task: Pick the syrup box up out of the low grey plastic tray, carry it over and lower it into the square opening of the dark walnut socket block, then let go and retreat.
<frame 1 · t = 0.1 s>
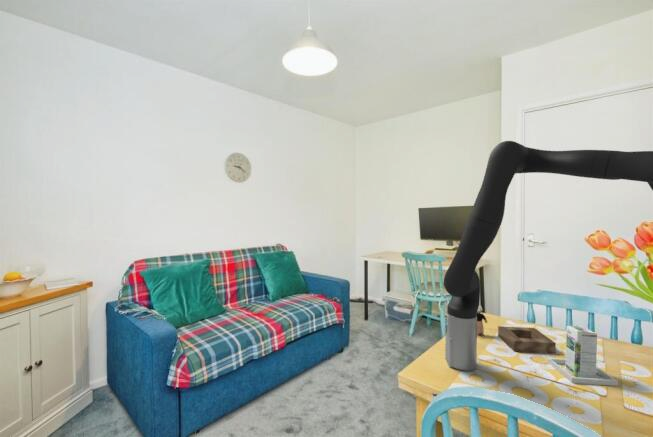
syrup box: (580, 373, 96), resting in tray
grandmother figurine: (477, 335, 126), on the table
socket block: (524, 344, 117), on the table
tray: (580, 373, 96), on the table
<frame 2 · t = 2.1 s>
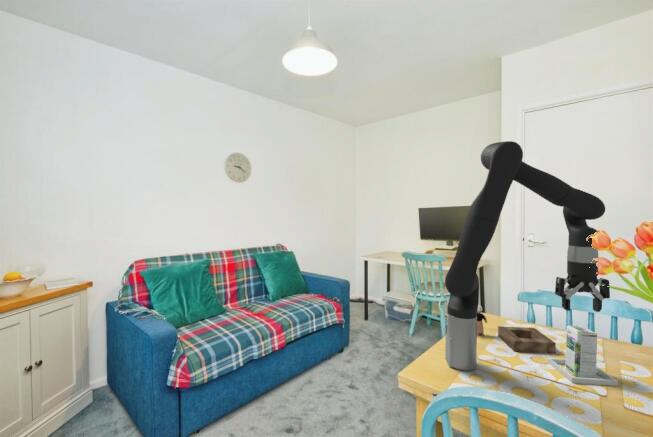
hand: (581, 310, 95), 20 cm above the table, tool pointing down, fingers open, 8 cm apart
nothing on the table moved.
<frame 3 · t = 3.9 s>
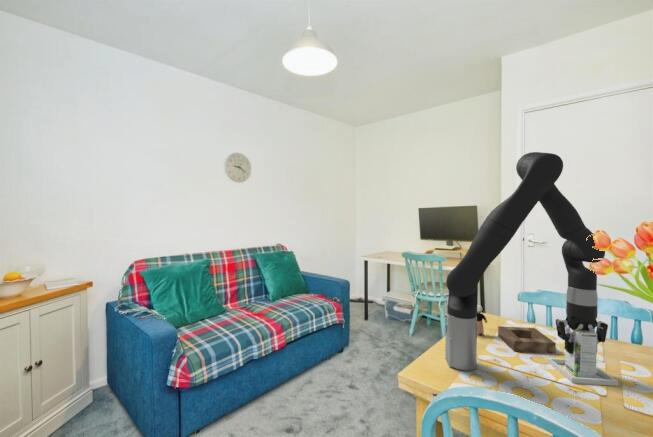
hand: (580, 353, 96), 7 cm above the table, tool pointing down, fingers closed on syrup box, 6 cm apart
syrup box: (580, 373, 96), resting in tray, touching gripper
everything else where it was.
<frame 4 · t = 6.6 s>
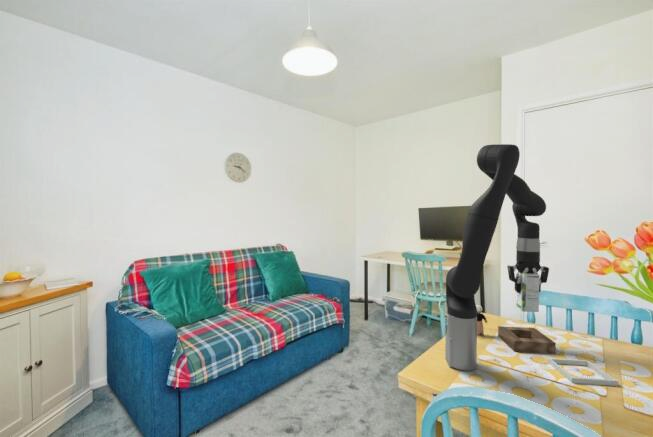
hand: (527, 292, 115), 21 cm above the table, tool pointing down, fingers closed on syrup box, 6 cm apart
syrup box: (527, 310, 116), point 14 cm above the table, touching gripper
everything else where it was.
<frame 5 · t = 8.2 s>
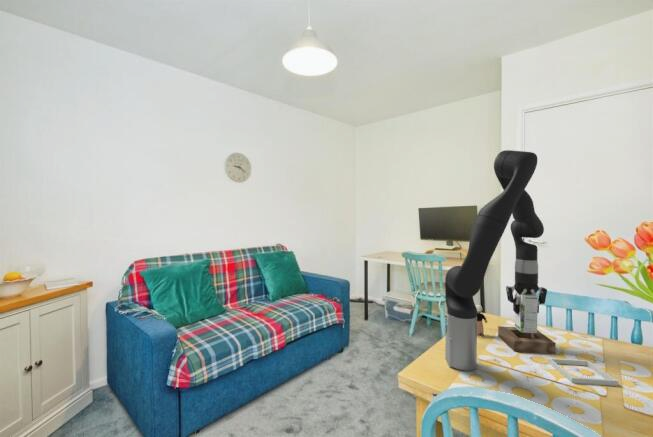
hand: (525, 313, 116), 12 cm above the table, tool pointing down, fingers closed on syrup box, 6 cm apart
syrup box: (525, 330, 116), point 5 cm above the table, touching gripper
everything else where it was.
when the fingers open (8 cm above the table, at t = 9.6 s): syrup box drops 1 cm, resting in socket block.
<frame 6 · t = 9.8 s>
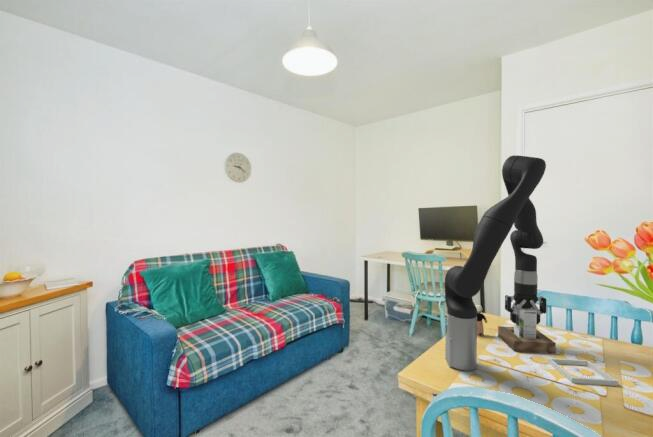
hand: (525, 322, 117), 8 cm above the table, tool pointing down, fingers open, 7 cm apart
syrup box: (524, 344, 117), resting in socket block
everything else where it was.
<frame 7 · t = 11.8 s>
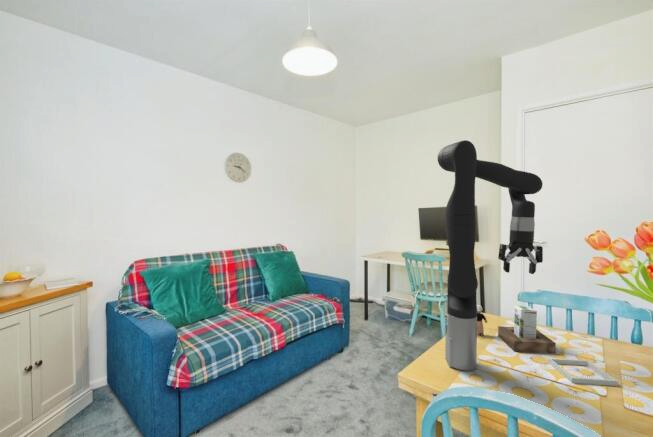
hand: (519, 272, 111), 29 cm above the table, tool pointing down, fingers open, 8 cm apart
nothing on the table moved.
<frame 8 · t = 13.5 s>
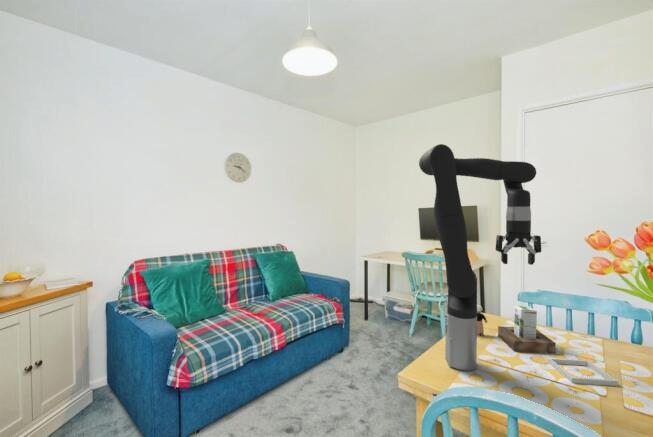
hand: (517, 264, 108), 33 cm above the table, tool pointing down, fingers open, 8 cm apart
nothing on the table moved.
at the end: syrup box 0.1 cm off-centre on the socket block, point 0.0 cm above the socket block's base; syrup box tilted 0°; the gripper is holding nothing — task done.
